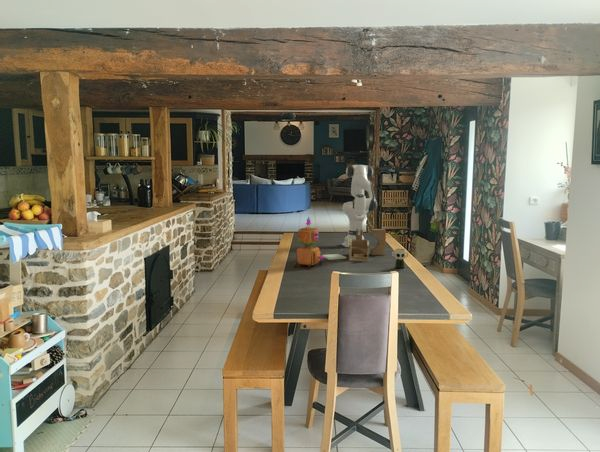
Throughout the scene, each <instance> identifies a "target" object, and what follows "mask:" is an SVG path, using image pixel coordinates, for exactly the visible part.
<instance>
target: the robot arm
mask: <svg viewBox="0 0 600 452" xmlns="http://www.w3.org/2000/svg"><path fill="white" fill-rule="evenodd" d="M345 174H346V176H347V178H352V179H351V186H350V194H351V196H352V197H354V199H353V200H352V201H347V202H344V203H343V205H342V208H341V209H342V212H343V213H344V215H346V217H347V218H348V222H349V225H348V226H349V230H348V233H347V235H346V236H345V238H344V239H343V241H344V242H342V243H341V245H342V246H343V247H345V248H349V243H350V239H356V228H357V230H358V235H360V232H361V230H362V240H365V237H364V236H363V233H364V232H363V231H364V230H363V225H364V223H363V222H364V220H366V218H367V216H366V215H367V213H369V212H374V211H375V210H377V207H378V202H377V199H376V196H375V192H374V187H373V183H372V182H371V181H370V180H369V179H371V178H372V177H373V175H374V169H373V166H371V165H365V164H349V165H347V167H346V169H345ZM365 191H366V192H367V193H368V196H369V197H368V198H366V197H367V196H366V195H365Z"/></svg>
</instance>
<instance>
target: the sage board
mask: <svg viewBox="0 0 600 452" xmlns="http://www.w3.org/2000/svg"><path fill="white" fill-rule="evenodd" d="M321 256H322V257H323V259H327V260H329V261H333V260H346V259H347V256H345V255H342V254H340V253H334V254H332V253H331V254H330V253H329V254H322V255H321Z"/></svg>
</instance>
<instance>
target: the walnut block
mask: <svg viewBox="0 0 600 452" xmlns="http://www.w3.org/2000/svg"><path fill="white" fill-rule="evenodd" d="M362 230H363V229H362ZM362 230H361V232H360V235H358V230H357V228H356V240H362Z"/></svg>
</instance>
